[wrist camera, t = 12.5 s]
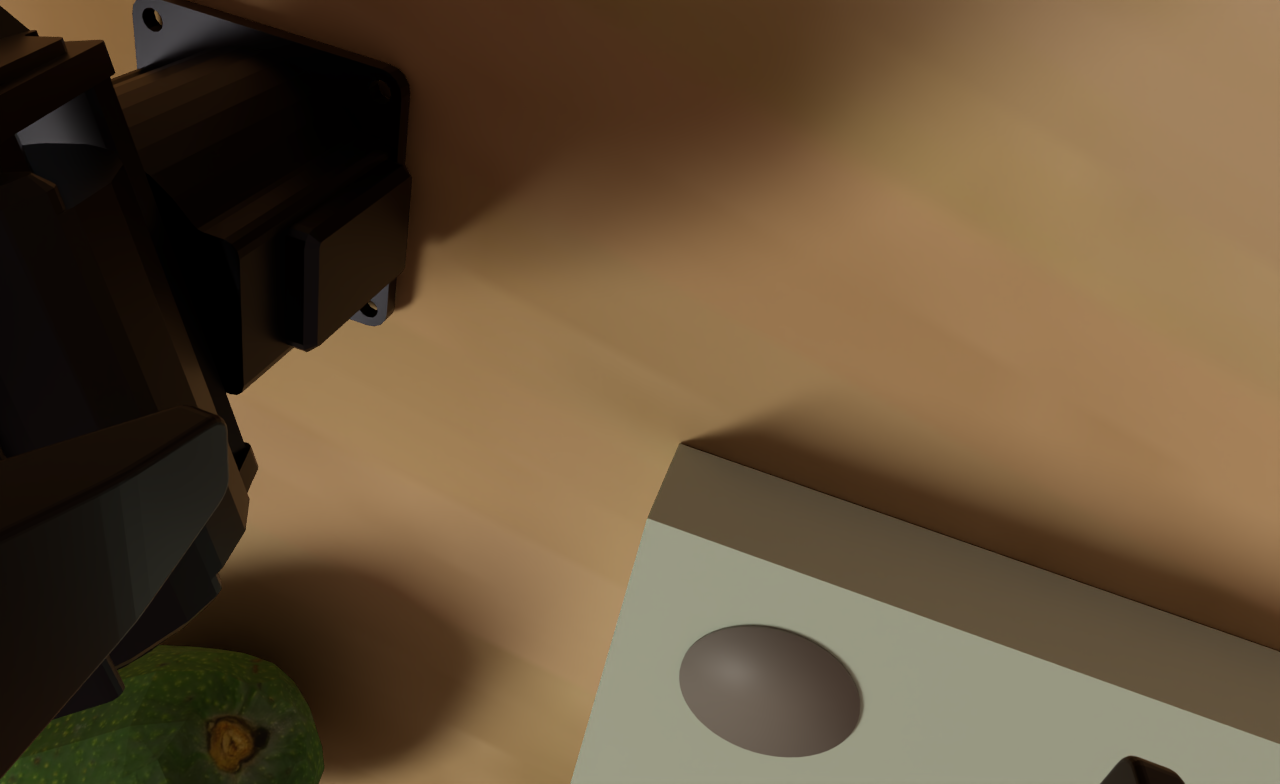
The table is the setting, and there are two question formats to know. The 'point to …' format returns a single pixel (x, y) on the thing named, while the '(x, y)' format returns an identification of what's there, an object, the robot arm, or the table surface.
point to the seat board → (897, 657)
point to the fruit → (183, 727)
